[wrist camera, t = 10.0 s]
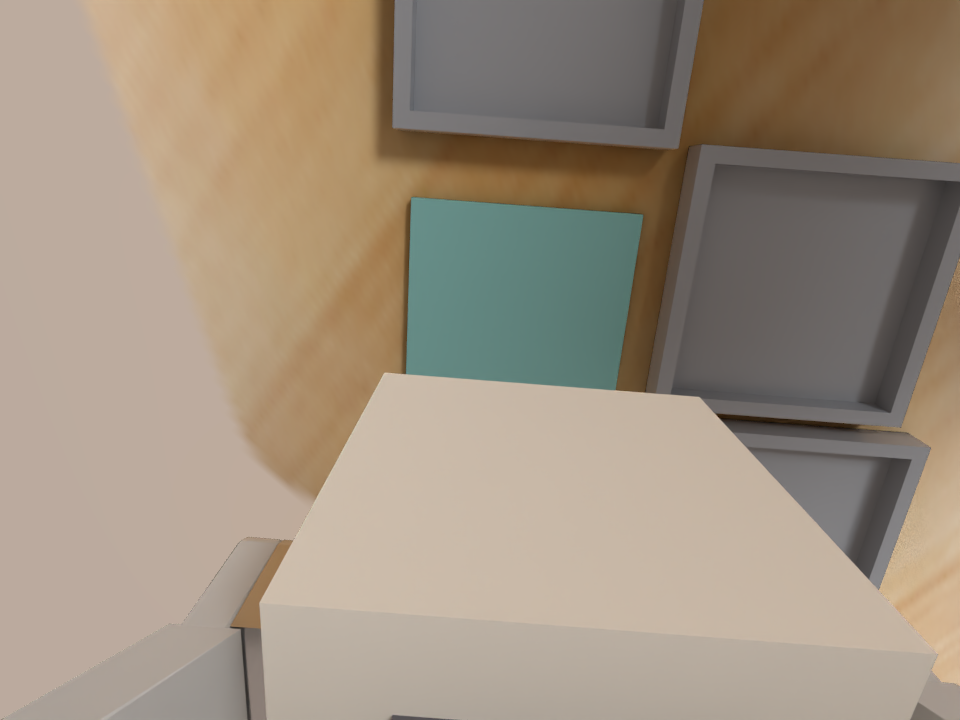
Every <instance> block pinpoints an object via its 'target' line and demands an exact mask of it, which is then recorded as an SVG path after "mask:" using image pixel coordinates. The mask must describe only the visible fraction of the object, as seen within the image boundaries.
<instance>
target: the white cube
mask: <svg viewBox="0 0 960 720" xmlns="http://www.w3.org/2000/svg"><path fill="white" fill-rule="evenodd" d="M259 606H260V621H261V637H262V653H263V669H264V685H265V701H266V717H267V720H910V719H911V717H912V714H913V712H914V710H915V707H916V705H917V703H918V700H919V698H920V696H921V693H922V691H923V689H924V686H925V684H926V682H927V679H928V677H929V675H930V672H931V670H932V668H933V665H934V663H935V661H936V658H937V656H938V654H937V653H936V652H935V650H934V649H933V648H932V647H931V646H930V645H929V644H928V643H927V642H926V641H925V640H924V639H923V638H922V636H921V635H920V634H919V633H918V632H917V631H916V630H915V629H914V628H913V627H912V626H911V625H910V624H909V622H908V621H907V620H906V619H905V618H904V617H903V616H902V615H901V614H900V613H899V612H898V611H897V610H896V608H895V607H894V606H893V605H892V604H891V603H890V602H889V601H888V600H887V599H886V598H885V597H884V595H883V594H882V593H881V592H880V591H879V590H878V589H877V588H876V587H875V586H874V585H873V584H872V583H871V581H870V580H869V579H868V578H867V577H866V576H865V575H864V574H863V573H862V572H861V571H860V570H859V569H858V567H857V566H856V565H855V564H854V563H853V562H852V561H851V560H850V559H849V558H848V557H847V556H846V555H845V553H844V552H843V551H842V550H841V549H840V548H839V547H838V546H837V545H836V544H835V543H834V542H833V541H832V539H831V538H830V537H829V536H828V535H827V534H826V533H825V532H824V531H823V530H822V529H821V528H820V526H819V525H818V524H817V523H816V522H815V521H814V520H813V519H812V518H811V517H810V516H809V515H808V514H807V512H806V511H805V510H804V509H803V508H802V507H801V506H800V505H799V504H798V503H797V502H796V501H795V500H794V498H793V497H792V496H791V495H790V494H789V493H788V492H787V491H786V490H785V489H784V488H783V487H782V486H781V484H780V483H779V482H778V481H777V480H776V479H775V478H774V477H773V476H772V475H771V474H770V473H769V472H768V470H767V469H766V468H765V467H764V466H763V465H762V464H761V463H760V462H759V461H758V460H757V459H756V457H755V456H754V455H753V454H752V453H751V452H750V451H749V450H748V449H747V448H746V447H745V446H744V445H743V443H742V442H741V441H740V440H739V439H738V438H737V437H736V436H735V435H734V434H733V433H732V432H731V431H730V429H729V428H728V427H727V426H726V425H725V424H724V423H723V422H722V421H721V420H720V419H719V418H718V417H717V415H716V414H715V413H714V412H713V411H712V410H711V409H710V408H709V407H708V406H707V405H706V404H705V403H704V401H703V400H702V399H701V398H700V397H694V396H681V395H668V394H655V393H642V392H629V391H616V390H603V389H590V388H577V387H564V386H551V385H538V384H525V383H512V382H499V381H486V380H473V379H461V378H448V377H435V376H422V375H409V374H396V373H384V374H383V376H382V378H381V380H380V382H379V384H378V385H377V387H376V389H375V391H374V393H373V395H372V396H371V398H370V400H369V402H368V404H367V406H366V408H365V409H364V411H363V413H362V415H361V417H360V419H359V420H358V422H357V424H356V426H355V428H354V430H353V431H352V433H351V435H350V437H349V439H348V441H347V443H346V444H345V446H344V448H343V450H342V452H341V454H340V455H339V457H338V459H337V461H336V463H335V465H334V466H333V468H332V470H331V472H330V474H329V476H328V478H327V479H326V481H325V483H324V485H323V487H322V489H321V490H320V492H319V494H318V496H317V498H316V500H315V501H314V503H313V505H312V507H311V509H310V511H309V513H308V514H307V516H306V518H305V520H304V522H303V524H302V526H301V527H300V529H299V531H298V533H297V535H296V536H295V538H294V540H293V542H292V544H291V546H290V547H289V549H288V551H287V553H286V555H285V557H284V559H283V560H282V562H281V564H280V566H279V568H278V570H277V571H276V573H275V575H274V577H273V579H272V581H271V582H270V584H269V586H268V588H267V590H266V592H265V594H264V595H263V597H262V599H261V601H260V603H259Z"/></svg>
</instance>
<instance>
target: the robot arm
mask: <svg viewBox="0 0 960 720" xmlns="http://www.w3.org/2000/svg"><path fill="white" fill-rule="evenodd" d="M292 542H293V541H291V540H283V541H281V540H278V539H266V538H254V537H247V538H245V539H243V540H241V541H240V542H239V543H238V545H237V546H236V547H235V549H234V550H233V552H232V553H231V555H230V556H229V557H228V559H227V560H226V562H225V563H224V565H223V566H222V567H221V569H220V570H219V572H218V573H217V574H216V576H215V577H214V579H213V580H212V582H211V583H210V585H209V586H208V587H207V589H206V590H205V592H204V593H203V594H202V596H201V597H200V599H199V600H198V602H197V603H196V604H195V606H194V607H193V609H192V610H191V612H190V613H189V614H188V616H187V617H186V619H185V620H184V622H183V623H182V624H168V625H166V626H165V627H163V628H161V629H160V630H158V631H156V632H154V633H153V634H151V635H149V636H147V637H145V638H144V639H142V640H140V641H138V642H137V643H135V644H133V645H132V646H130V647H128V648H126V649H124V650H123V651H121V652H119V653H117V654H116V655H114V656H112V657H110V658H109V659H107V660H105V661H103V662H102V663H100V664H98V665H96V666H94V667H93V668H91V669H89V670H88V671H86V672H84V673H82V674H81V675H79V676H77V677H75V678H73V679H72V680H70V681H68V682H66V683H65V684H63V685H61V686H59V687H58V688H56V689H54V690H52V691H51V692H49V693H47V694H45V695H44V696H42V697H40V698H39V699H37V700H35V701H33V702H31V703H30V704H28V705H26V706H24V707H23V708H21V709H19V710H17V711H16V712H14V713H12V714H10V715H9V716H7V717H5V718H3V719H2V720H267V717H266V701H265V685H264V669H263V653H262V637H261V621H260V606H259V603H260V601H261V599H262V597H263V595H264V594H265V592H266V590H267V588H268V586H269V584H270V582H271V581H272V579H273V577H274V575H275V573H276V571H277V570H278V568H279V566H280V564H281V562H282V560H283V559H284V557H285V555H286V553H287V551H288V549H289V547H290V546H291V544H292ZM910 720H960V686H958V685H957V684H955V683H944V682H941V681H940V680H939V679H938V678H937V676H936V675H935V674H934V673H933V672H932V671H931V672H930V675H929V677H928V679H927V682H926V684H925V686H924V689H923V691H922V693H921V696H920V698H919V700H918V703H917V705H916V707H915V710H914V712H913V714H912V717H911V719H910Z"/></svg>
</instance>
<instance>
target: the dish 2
mask: <svg viewBox="0 0 960 720" xmlns="http://www.w3.org/2000/svg"><path fill="white" fill-rule="evenodd" d="M959 257H960V163H948V162H935V161H921V160H907V159H894V158H880V157H867V156H853V155H839V154H826V153H812V152H799V151H785V150H772V149H758V148H744V147H731V146H717V145H704V144H701V145H694V146H689V150H688V155H687V161H686V166H685V172H684V178H683V183H682V189H681V195H680V200H679V206H678V211H677V217H676V223H675V228H674V234H673V239H672V245H671V251H670V256H669V262H668V268H667V273H666V279H665V284H664V290H663V296H662V301H661V307H660V313H659V318H658V324H657V329H656V335H655V341H654V346H653V352H652V357H651V363H650V369H649V374H648V380H647V386H646V391H645V393H655V394H668V395H681V396H694V397H700V398H701V399H702V400H703V401H704V403H705V404H706V405H707V406H708V407H709V408H710V409H711V410H712V411H713V412H714V413H718V414H731V415H744V416H757V417H770V418H783V419H796V420H809V421H822V422H835V423H848V424H861V425H874V426H887V427H900V428H901V426H902V423H903V420H904V417H905V414H906V411H907V408H908V405H909V403H910V400H911V397H912V394H913V391H914V388H915V385H916V382H917V379H918V376H919V373H920V371H921V368H922V365H923V362H924V359H925V356H926V353H927V350H928V347H929V344H930V341H931V339H932V336H933V333H934V330H935V327H936V324H937V321H938V318H939V315H940V312H941V309H942V307H943V304H944V301H945V298H946V295H947V292H948V289H949V286H950V283H951V280H952V277H953V275H954V272H955V269H956V266H957V263H958V260H959Z"/></svg>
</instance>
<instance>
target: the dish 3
mask: <svg viewBox="0 0 960 720" xmlns="http://www.w3.org/2000/svg"><path fill="white" fill-rule="evenodd" d="M719 419H720V420H721V421H722V422H723V423H724V424H725V425H726V426H727V427H728V428H729V429H730V431H731V432H732V433H733V434H734V435H735V436H736V437H737V438H738V439H739V440H740V441H741V442H742V443H743V445H744V446H745V447H746V448H747V449H748V450H749V451H750V452H751V453H752V454H753V455H754V456H755V457H756V459H757V460H758V461H759V462H760V463H761V464H762V465H763V466H764V467H765V468H766V469H767V470H768V472H769V473H770V474H771V475H772V476H773V477H774V478H775V479H776V480H777V481H778V482H779V483H780V484H781V486H782V487H783V488H784V489H785V490H786V491H787V492H788V493H789V494H790V495H791V496H792V497H793V498H794V500H795V501H796V502H797V503H798V504H799V505H800V506H801V507H802V508H803V509H804V510H805V511H806V512H807V514H808V515H809V516H810V517H811V518H812V519H813V520H814V521H815V522H816V523H817V524H818V525H819V526H820V528H821V529H822V530H823V531H824V532H825V533H826V534H827V535H828V536H829V537H830V538H831V539H832V541H833V542H834V543H835V544H836V545H837V546H838V547H839V548H840V549H841V550H842V551H843V552H844V553H845V555H846V556H847V557H848V558H849V559H850V560H851V561H852V562H853V563H854V564H855V565H856V566H857V567H858V569H859V570H860V571H861V572H862V573H863V574H864V575H865V576H866V577H867V578H868V579H869V580H870V581H871V583H872V584H873V585H874V586H875V587H876V588H877V589H878V590H879V588H880V585H881V583H882V580H883V577H884V574H885V572H886V569H887V566H888V564H889V561H890V558H891V555H892V553H893V550H894V547H895V545H896V542H897V539H898V536H899V534H900V531H901V528H902V526H903V523H904V520H905V517H906V515H907V512H908V509H909V506H910V504H911V501H912V498H913V496H914V493H915V490H916V487H917V485H918V482H919V479H920V477H921V474H922V471H923V468H924V466H925V463H926V460H927V458H928V455H929V452H930V449H931V447H929V446H928V445H926V444H924V443H923V442H921V441H920V440H918V439H917V438H915V437H913V436H912V435H910V434H909V433H903V432H890V431H877V430H864V429H851V428H838V427H825V426H812V425H799V424H786V423H773V422H760V421H747V420H734V419H721V418H719Z"/></svg>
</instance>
